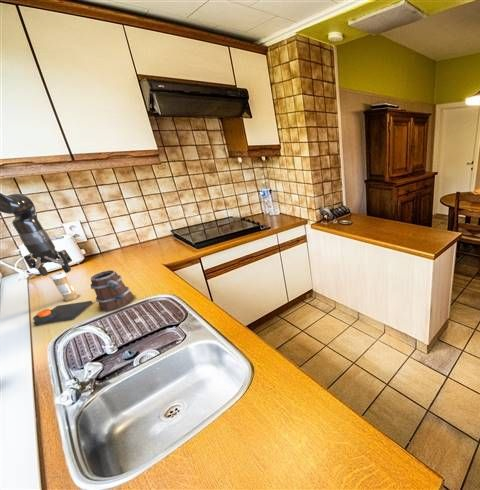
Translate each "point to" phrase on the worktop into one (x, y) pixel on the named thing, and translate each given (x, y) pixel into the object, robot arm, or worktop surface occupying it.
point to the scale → (62, 313)
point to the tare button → (44, 313)
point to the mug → (110, 290)
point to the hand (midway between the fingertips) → (57, 273)
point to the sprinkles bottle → (63, 286)
